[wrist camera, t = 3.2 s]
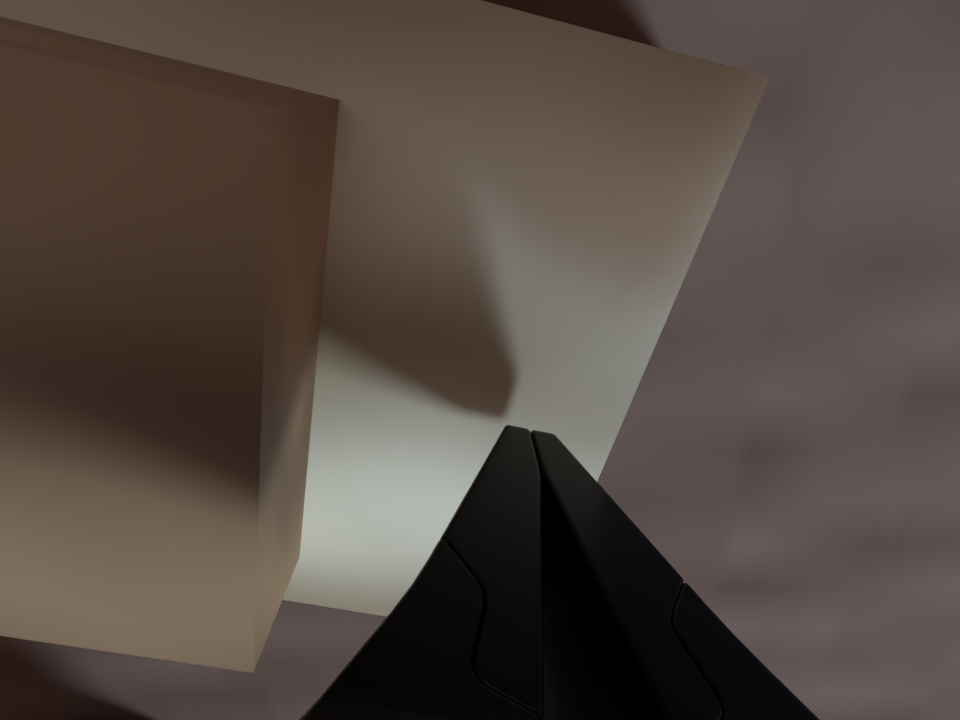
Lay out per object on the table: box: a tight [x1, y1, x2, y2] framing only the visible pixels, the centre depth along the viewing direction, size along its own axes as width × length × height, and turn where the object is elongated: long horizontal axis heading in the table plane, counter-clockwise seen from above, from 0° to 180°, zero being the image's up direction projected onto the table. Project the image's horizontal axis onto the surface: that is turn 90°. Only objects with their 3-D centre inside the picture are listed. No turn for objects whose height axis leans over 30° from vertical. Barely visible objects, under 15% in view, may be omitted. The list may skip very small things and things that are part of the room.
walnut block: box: [0, 17, 339, 673], centre depth 8 cm, size 9×7×2 cm
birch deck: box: [0, 0, 770, 616], centre depth 11 cm, size 12×16×4 cm
